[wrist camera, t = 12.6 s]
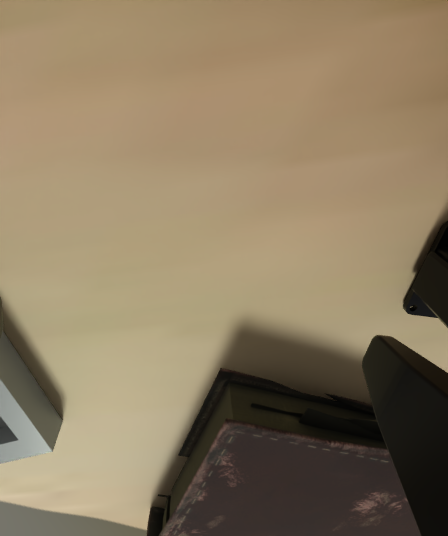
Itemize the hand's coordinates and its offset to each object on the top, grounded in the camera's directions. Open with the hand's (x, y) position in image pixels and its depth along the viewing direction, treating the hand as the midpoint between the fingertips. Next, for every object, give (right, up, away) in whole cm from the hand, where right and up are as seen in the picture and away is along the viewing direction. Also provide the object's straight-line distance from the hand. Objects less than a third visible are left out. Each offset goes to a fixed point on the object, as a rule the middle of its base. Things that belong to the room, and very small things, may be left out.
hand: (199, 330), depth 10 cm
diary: (+9, -16, +25) cm, 31 cm away
